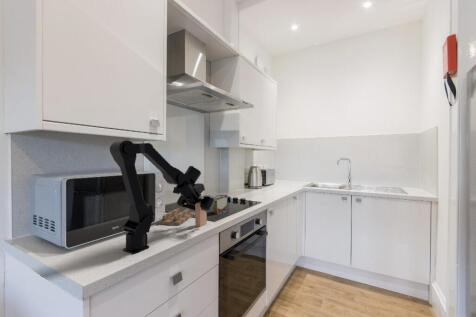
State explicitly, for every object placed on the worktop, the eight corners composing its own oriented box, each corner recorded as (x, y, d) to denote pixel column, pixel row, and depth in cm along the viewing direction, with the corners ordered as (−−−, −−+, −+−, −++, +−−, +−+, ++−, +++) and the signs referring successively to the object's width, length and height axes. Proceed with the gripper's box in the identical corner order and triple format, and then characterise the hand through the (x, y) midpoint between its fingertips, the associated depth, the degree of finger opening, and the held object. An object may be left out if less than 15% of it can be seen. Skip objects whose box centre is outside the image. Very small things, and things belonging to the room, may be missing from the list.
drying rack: (179, 225, 108) (179, 217, 108) (157, 224, 110) (157, 216, 110) (194, 214, 128) (194, 208, 128) (175, 214, 130) (175, 207, 130)
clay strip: (200, 227, 106) (200, 199, 106) (195, 226, 107) (195, 199, 107) (206, 224, 110) (206, 198, 110) (201, 223, 111) (201, 197, 111)
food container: (219, 209, 142) (219, 193, 142) (227, 210, 139) (227, 194, 139) (207, 213, 131) (207, 196, 131) (216, 214, 128) (216, 197, 128)
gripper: (211, 179, 100) (224, 199, 110) (181, 177, 110) (195, 196, 119) (200, 199, 94) (215, 219, 103) (169, 195, 103) (185, 214, 112)
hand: (202, 211), depth 110 cm, fingers open, 8 cm apart
